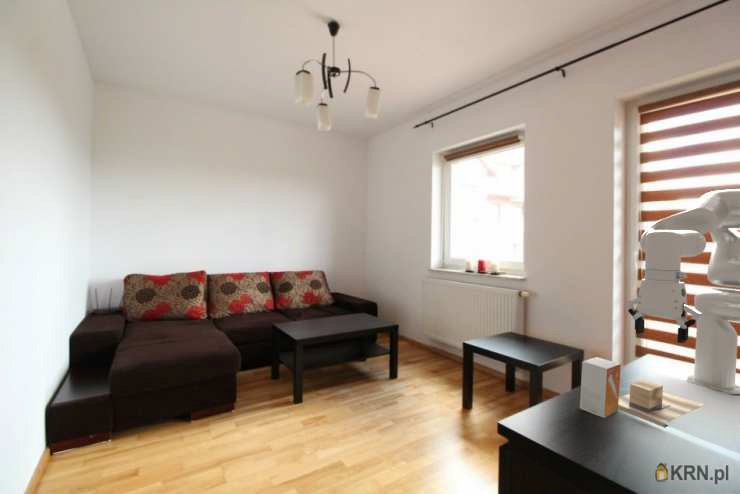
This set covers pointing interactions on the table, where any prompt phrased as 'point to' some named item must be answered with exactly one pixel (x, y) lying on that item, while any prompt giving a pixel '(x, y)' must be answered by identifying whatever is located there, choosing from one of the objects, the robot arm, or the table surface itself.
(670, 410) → the board
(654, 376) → the table surface
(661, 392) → the block
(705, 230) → the robot arm
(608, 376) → the small box
